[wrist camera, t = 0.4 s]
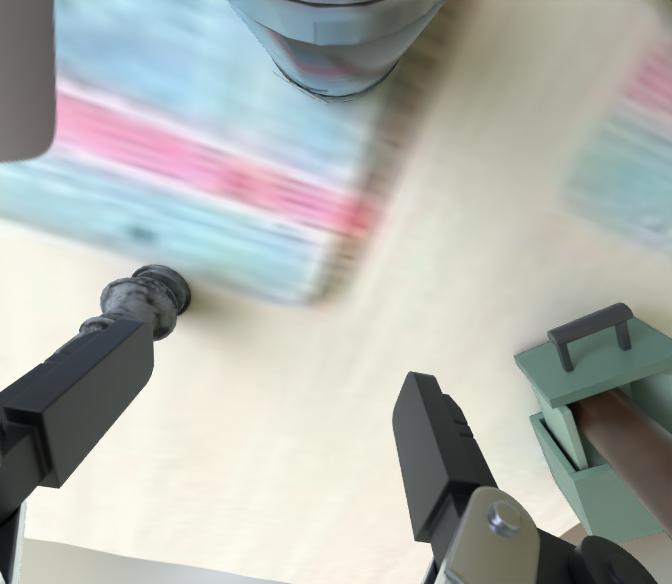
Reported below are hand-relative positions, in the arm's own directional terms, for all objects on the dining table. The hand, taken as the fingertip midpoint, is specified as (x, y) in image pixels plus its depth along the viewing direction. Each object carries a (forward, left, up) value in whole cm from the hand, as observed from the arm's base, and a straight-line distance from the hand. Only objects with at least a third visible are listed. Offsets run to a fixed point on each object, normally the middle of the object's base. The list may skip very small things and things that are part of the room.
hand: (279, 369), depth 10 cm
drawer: (+9, +27, -17) cm, 33 cm away
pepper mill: (+10, +28, -16) cm, 33 cm away
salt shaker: (+8, -13, -18) cm, 23 cm away
